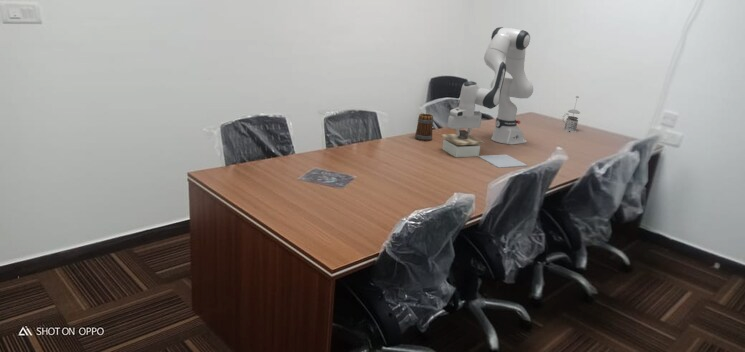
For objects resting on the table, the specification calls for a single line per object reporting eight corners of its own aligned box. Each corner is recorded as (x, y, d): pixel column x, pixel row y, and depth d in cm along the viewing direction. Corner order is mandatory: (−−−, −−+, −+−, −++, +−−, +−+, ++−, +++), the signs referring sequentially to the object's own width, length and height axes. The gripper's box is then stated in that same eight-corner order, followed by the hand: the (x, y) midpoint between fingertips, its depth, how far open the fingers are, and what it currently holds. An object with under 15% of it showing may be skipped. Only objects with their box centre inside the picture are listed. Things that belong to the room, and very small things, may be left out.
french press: (579, 132, 354) (587, 97, 345) (563, 131, 353) (570, 96, 345) (574, 129, 363) (581, 95, 354) (558, 128, 363) (565, 93, 354)
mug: (431, 142, 300) (434, 117, 295) (413, 140, 302) (416, 115, 297) (433, 135, 314) (436, 112, 309) (416, 133, 316) (419, 110, 311)
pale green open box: (464, 148, 293) (465, 138, 291) (478, 156, 281) (480, 145, 278) (442, 149, 288) (443, 139, 286) (455, 157, 275) (457, 147, 273)
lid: (466, 135, 292) (468, 126, 291) (483, 143, 278) (484, 134, 276) (441, 136, 286) (442, 127, 284) (457, 145, 271) (458, 136, 270)
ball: (461, 149, 286) (462, 143, 285) (465, 151, 283) (466, 145, 281) (455, 150, 285) (456, 143, 283) (459, 152, 281) (460, 145, 280)
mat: (506, 155, 287) (506, 154, 286) (527, 166, 270) (527, 165, 270) (478, 156, 279) (478, 155, 279) (498, 168, 263) (498, 167, 263)
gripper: (478, 109, 283) (475, 133, 288) (447, 110, 275) (444, 134, 280) (485, 112, 277) (481, 136, 282) (453, 113, 270) (450, 137, 274)
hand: (462, 135), depth 281 cm, fingers closed on lid, 4 cm apart
